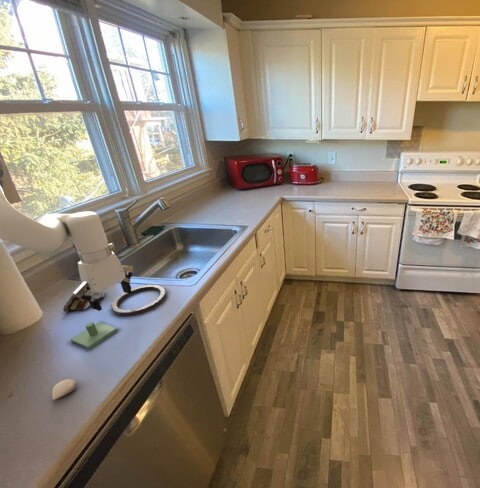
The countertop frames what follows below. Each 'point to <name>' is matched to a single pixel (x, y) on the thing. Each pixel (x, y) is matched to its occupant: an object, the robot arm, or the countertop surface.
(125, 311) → the hoop
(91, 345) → the peg stand
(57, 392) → the cream half-moon wedge
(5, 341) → the countertop surface
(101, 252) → the robot arm
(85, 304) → the chocolate cake
